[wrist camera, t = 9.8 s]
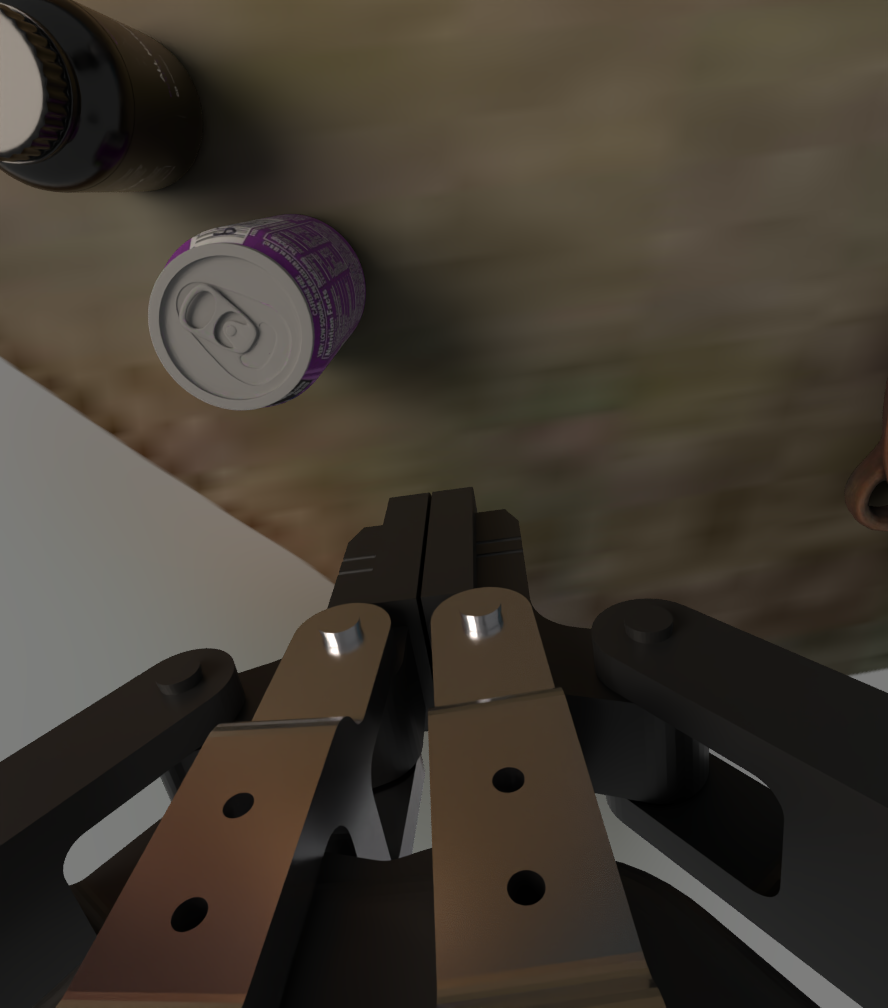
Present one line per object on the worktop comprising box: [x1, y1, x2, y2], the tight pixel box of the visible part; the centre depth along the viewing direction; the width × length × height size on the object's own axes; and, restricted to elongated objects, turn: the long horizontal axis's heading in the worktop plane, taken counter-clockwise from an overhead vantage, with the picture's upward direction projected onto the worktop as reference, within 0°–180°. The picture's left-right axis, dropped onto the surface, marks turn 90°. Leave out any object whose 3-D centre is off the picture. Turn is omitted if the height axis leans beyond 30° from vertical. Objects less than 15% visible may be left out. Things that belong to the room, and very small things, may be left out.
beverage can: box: [148, 214, 366, 410], centre depth 32 cm, size 7×7×12 cm
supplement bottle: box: [0, 0, 203, 193], centre depth 29 cm, size 7×7×12 cm
